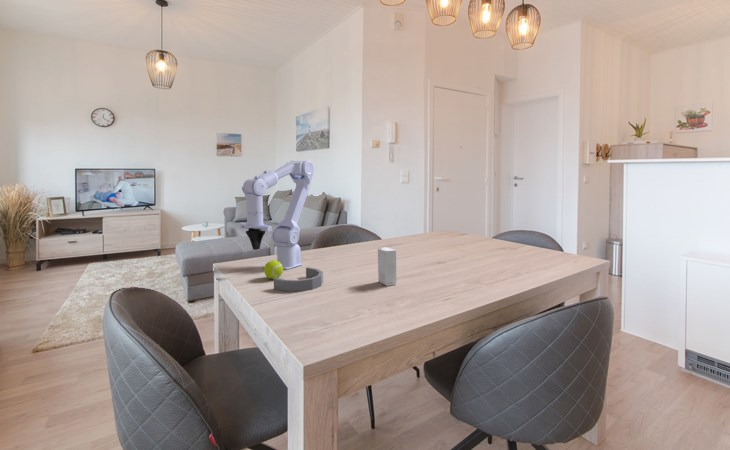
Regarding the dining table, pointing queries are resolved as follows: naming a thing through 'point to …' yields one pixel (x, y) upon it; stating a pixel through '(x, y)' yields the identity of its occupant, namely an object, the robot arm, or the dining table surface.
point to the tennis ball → (273, 269)
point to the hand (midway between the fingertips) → (256, 249)
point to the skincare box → (387, 266)
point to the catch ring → (301, 282)
